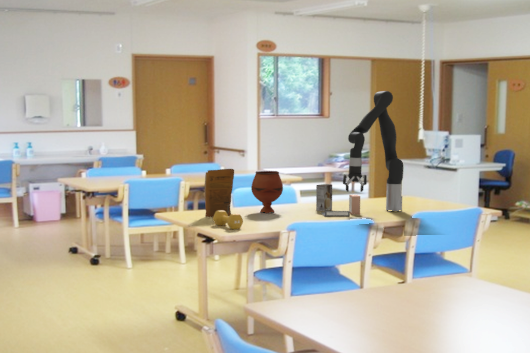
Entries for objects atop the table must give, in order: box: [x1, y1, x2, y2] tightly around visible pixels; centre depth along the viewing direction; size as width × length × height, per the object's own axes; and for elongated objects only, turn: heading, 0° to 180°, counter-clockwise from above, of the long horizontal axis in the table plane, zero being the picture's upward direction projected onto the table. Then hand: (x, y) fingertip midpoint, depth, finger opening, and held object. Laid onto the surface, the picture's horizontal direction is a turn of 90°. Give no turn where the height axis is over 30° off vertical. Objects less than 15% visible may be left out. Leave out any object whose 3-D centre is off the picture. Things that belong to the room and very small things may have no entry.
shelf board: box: [321, 210, 351, 217], centre depth 444 cm, size 15×12×3 cm
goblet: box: [251, 170, 284, 214], centre depth 451 cm, size 19×19×25 cm
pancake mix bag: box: [204, 168, 235, 218], centre depth 433 cm, size 7×19×28 cm, turn 115°
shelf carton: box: [348, 194, 361, 215], centre depth 451 cm, size 5×8×11 cm, turn 6°
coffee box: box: [315, 183, 333, 212], centre depth 464 cm, size 9×6×16 cm
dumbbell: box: [212, 210, 244, 230], centre depth 397 cm, size 19×9×8 cm, turn 34°
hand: (354, 191), depth 450 cm, fingers open, 8 cm apart
